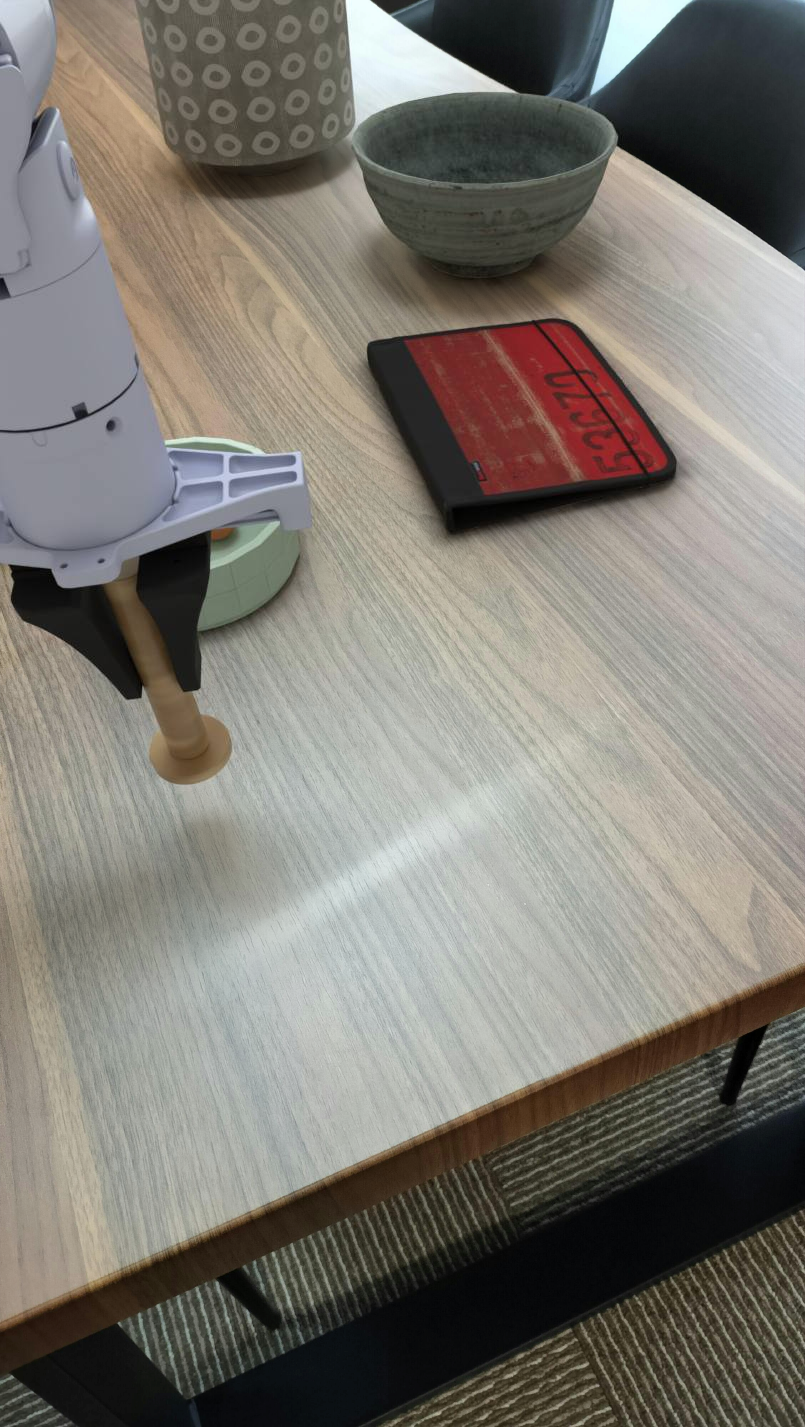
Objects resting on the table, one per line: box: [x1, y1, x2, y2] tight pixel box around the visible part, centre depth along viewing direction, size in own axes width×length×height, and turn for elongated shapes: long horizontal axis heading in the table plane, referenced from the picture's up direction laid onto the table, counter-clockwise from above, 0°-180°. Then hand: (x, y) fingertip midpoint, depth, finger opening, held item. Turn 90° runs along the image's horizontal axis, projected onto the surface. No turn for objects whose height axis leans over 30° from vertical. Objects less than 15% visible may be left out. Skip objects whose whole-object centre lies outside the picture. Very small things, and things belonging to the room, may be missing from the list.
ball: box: [211, 527, 235, 540], centre depth 63 cm, size 3×3×3 cm
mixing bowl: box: [164, 436, 301, 632], centre depth 61 cm, size 13×13×4 cm
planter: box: [134, 0, 356, 177], centre depth 97 cm, size 19×19×18 cm
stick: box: [102, 556, 233, 786], centre depth 42 cm, size 4×4×11 cm
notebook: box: [366, 317, 678, 534], centre depth 70 cm, size 16×2×21 cm
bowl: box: [351, 91, 619, 279], centre depth 84 cm, size 21×21×10 cm
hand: (163, 677), depth 42 cm, fingers closed on stick, 2 cm apart
